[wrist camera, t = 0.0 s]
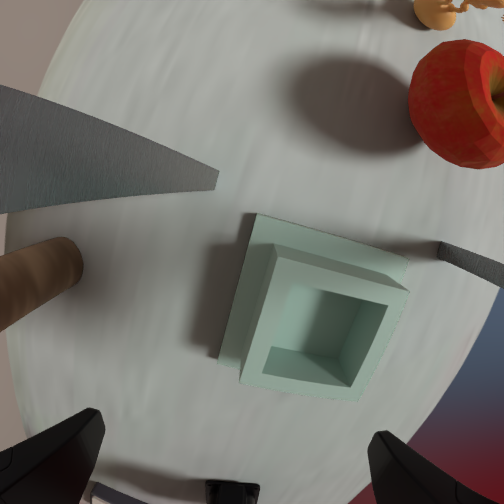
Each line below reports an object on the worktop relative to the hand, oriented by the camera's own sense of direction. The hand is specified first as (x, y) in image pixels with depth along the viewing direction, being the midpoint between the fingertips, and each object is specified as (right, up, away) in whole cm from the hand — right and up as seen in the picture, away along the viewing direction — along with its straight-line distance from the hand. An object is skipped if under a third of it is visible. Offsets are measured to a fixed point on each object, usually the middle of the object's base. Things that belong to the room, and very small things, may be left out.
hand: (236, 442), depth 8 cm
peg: (-16, +5, +14) cm, 22 cm away
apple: (+14, +16, +12) cm, 25 cm away
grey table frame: (+6, +5, +14) cm, 16 cm away
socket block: (+5, +1, +15) cm, 16 cm away
